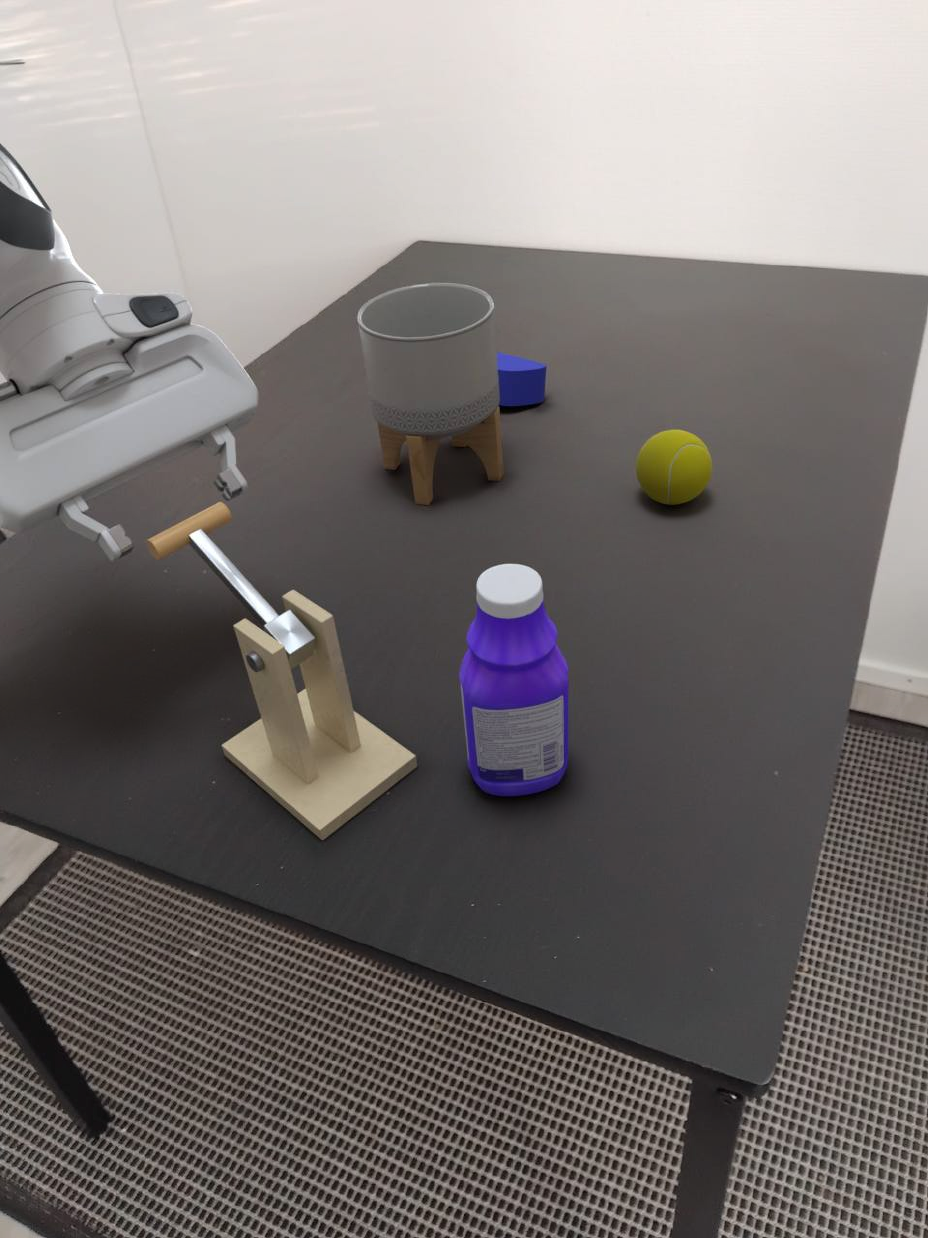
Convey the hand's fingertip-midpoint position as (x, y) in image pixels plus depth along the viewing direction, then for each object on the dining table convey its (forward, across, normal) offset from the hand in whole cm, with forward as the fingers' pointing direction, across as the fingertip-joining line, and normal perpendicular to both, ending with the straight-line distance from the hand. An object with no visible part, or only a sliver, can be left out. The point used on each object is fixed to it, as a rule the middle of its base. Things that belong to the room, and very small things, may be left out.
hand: (182, 523), depth 69 cm
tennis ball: (+19, +45, +5) cm, 49 cm away
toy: (-1, +50, +25) cm, 56 cm away
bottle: (+28, +9, -4) cm, 30 cm away
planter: (+4, +35, +20) cm, 40 cm away
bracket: (+20, 0, +4) cm, 20 cm away
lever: (+7, 0, -1) cm, 7 cm away
